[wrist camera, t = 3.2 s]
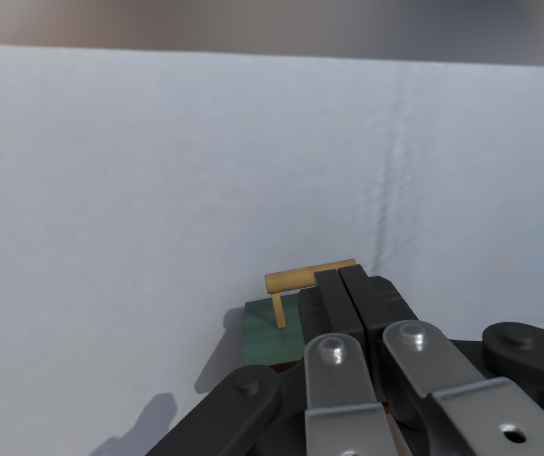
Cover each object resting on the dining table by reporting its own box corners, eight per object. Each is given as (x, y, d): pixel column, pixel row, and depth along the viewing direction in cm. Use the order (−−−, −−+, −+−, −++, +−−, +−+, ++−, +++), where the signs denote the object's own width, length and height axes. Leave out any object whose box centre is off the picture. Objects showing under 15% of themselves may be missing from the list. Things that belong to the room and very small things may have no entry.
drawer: (234, 256, 31) (227, 300, 24) (371, 232, 31) (403, 269, 24) (270, 414, 37) (273, 487, 30) (388, 395, 36) (418, 464, 29)
